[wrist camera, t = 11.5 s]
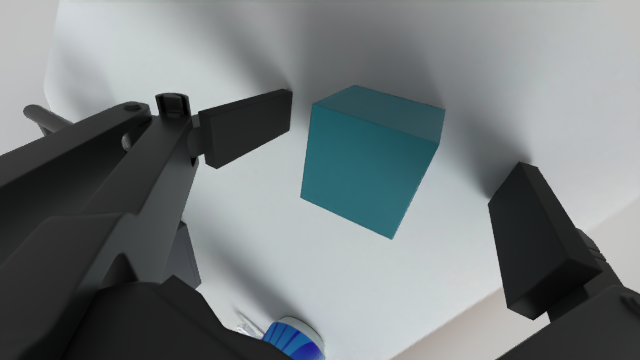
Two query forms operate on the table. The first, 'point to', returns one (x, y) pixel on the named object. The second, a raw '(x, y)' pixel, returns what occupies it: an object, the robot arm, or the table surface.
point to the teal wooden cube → (369, 155)
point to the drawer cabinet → (182, 259)
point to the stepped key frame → (246, 331)
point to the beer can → (295, 339)
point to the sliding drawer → (45, 119)
